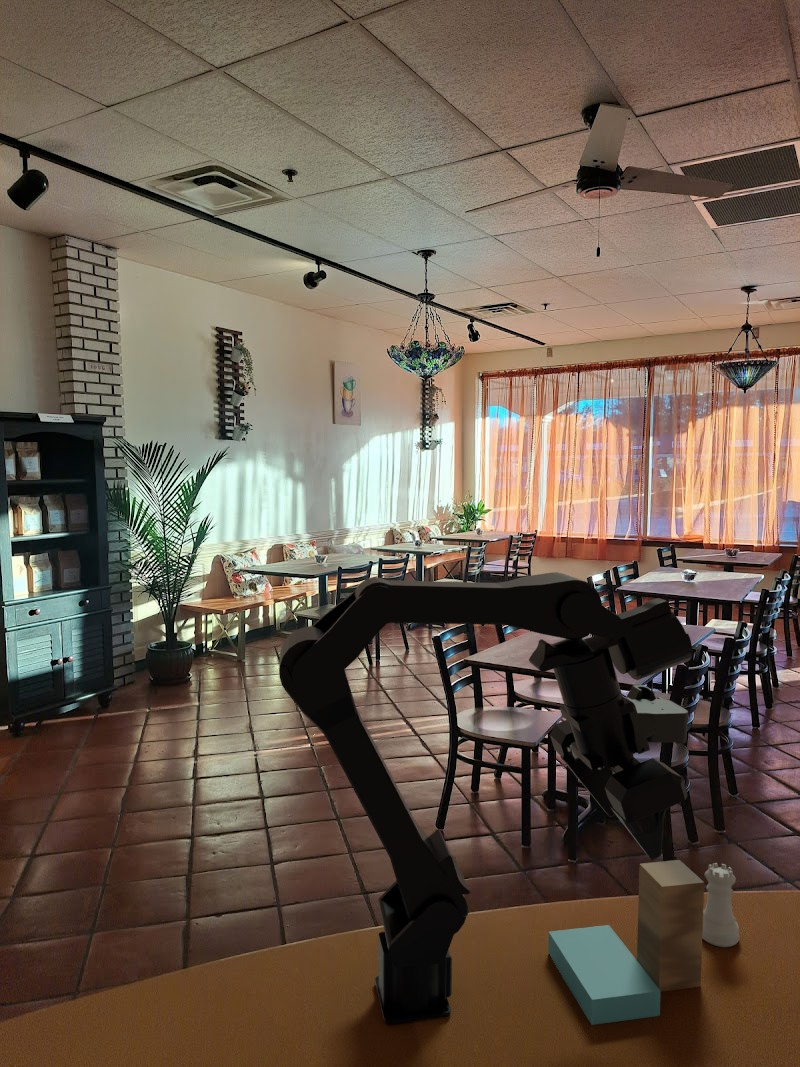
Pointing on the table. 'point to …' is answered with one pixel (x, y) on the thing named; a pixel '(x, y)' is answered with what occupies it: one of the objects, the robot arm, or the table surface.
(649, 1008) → the base block
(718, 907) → the rook chess piece
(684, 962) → the tan wooden block
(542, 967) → the table surface
